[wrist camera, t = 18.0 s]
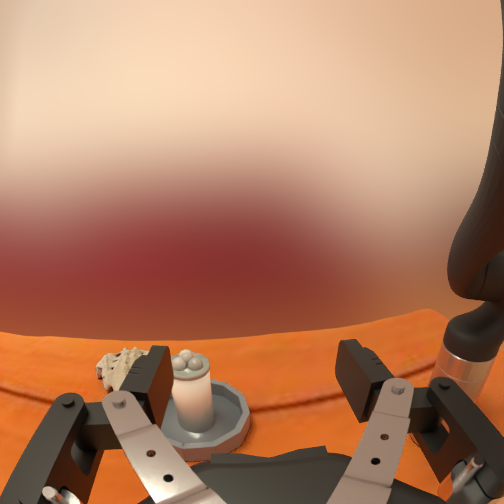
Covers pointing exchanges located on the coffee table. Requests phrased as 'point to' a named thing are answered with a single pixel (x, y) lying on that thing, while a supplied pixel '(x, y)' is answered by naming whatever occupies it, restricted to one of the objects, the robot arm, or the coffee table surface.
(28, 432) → the coffee table surface
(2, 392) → the coffee table surface
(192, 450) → the bowl
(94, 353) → the coffee table surface
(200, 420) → the pebble cup
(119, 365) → the coral
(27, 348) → the coffee table surface
